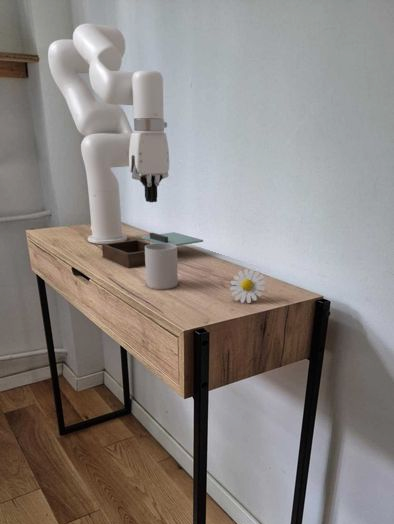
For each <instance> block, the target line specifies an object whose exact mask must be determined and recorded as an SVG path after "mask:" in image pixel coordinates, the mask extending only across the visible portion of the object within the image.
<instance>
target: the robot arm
mask: <svg viewBox="0 0 394 524" xmlns="http://www.w3.org/2000/svg"><path fill="white" fill-rule="evenodd" d="M125 53H126V40H125V37H124V34H123V33H122V32H121V30H120V29H118V28H117V27H115V26H111V25H104V24H97V23H89V22H88V23H87V22H86V23H82V24H79V25H78V26H77V27H76V28H75V29H74V31H73V33H72V39H70V38H67V39H66V38H63V39H57V40H54V41H53V42H51V44H50V45H49V47H48V52H47V60H48V61H47V62H48V66H49V70H50V73H51V76H52V78H53V79H52V80H53V81H54V82H55V85H56V86H57V88H58V90H59V91H60V92H61V94H62V96H63V97H64V99H65V101H66V104H67V107H68V109H69V112H70V114H71V117H72V119H73V122H74V125H75V127H76V129H77V130H78V132H79V133H80V134H81V135H83V136H84V137H83V139H82V140H81V144H80V151H81V152H80V153H81V157H82V160H83V164H84V169H85V174H86V183H87V193H88V202H89V203H88V204H89V215H90V228H89V229H90V231H91V235H89V236H87V242H89V243H91V244H97V245H102V244H109V243H116V242H123V241H128V236H127V235H126V234H125V233H124V234H123V229H122V228H123V227H122V214H121V213H122V211H121V197H120V196H121V195H120V184H119V180H118V178H117V176H116V175H115V173H114V172H113V170H112V169H111V168H126V167H129V172H130V173H131V178H132V179H133V180H136V181H139V182H140V183H141V185H142V186H143V187H144V199H145V202H147V203H157V202H158V187H159V186H160V183H161V182H162V180H164V179H167V178H169V170H170V152H169V151H170V150H169V143H168V137H167V133H166V132H165V129H166V128H167V127H168V123H167V122H166V121H165V119H164V78H163V75H162V73H160V71H157V70H137V71H135V72H134V71H133V72H132V71H121V70H120V69H121V67H122V62H123V61H122V59H123V58H124V56H125ZM79 74H88V76H89V83H90V84H91V87H90V85H89V84H88V83H87V82H86V81H85V80H84V79H83V78H82V77H81V76H80V75H79ZM94 92H95V94H96V95H97V96H98V97H99V98H100V100H102V101H103V102H100V101H98V100H97V99H96V97H95V95H94ZM121 106H132V107H133V129H132V126H131V123H130V121H129V119H128V116H127V114H126V112H125V110H124V108H122V107H121ZM133 130H134V132H133Z"/></svg>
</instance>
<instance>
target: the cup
mask: <svg viewBox="0 0 394 524" xmlns="http://www.w3.org/2000/svg"><path fill="white" fill-rule="evenodd" d="M145 264H146V265H145V281H146V285H147V288H150V289H153V290H169V289H170V290H171V289H173V288H176V287H177V285H178V279H179V278H178V277H179V276H178V274H179V273H178V246H176V245H174V244H169V243H155V242H154V243H150V244H149V245H146V246H145Z"/></svg>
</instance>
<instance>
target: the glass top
mask: <svg viewBox="0 0 394 524" xmlns="http://www.w3.org/2000/svg"><path fill="white" fill-rule="evenodd" d="M141 239H142V240H144V241H149V242H152V243H154V244H155V243H169V244H174V245H176V246H177V247H179V246H186V245H191V244H197V243H198V244H199V243H202V242H203V243H204V239H201V238H197V237H193V236H190V235H187V234H182V233H179V232H175V231H173V232H165V233H155V232H149V235H143V236H141Z"/></svg>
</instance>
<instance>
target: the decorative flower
mask: <svg viewBox="0 0 394 524" xmlns="http://www.w3.org/2000/svg"><path fill="white" fill-rule="evenodd" d="M243 271H244V272H243ZM243 271H241V270H239V271H238V272H237V273H238V275H239V276H238V275H234V276H233V280H230V285H232V286H231V287H229V290H230V291H232V292H231V295H230V296H232V297H235V301H236V302H237V301H240V304H243V303H245V301H246V302H247V304H250V303H251V302H252V300H253V301H257V300H258V297H262V296H263V293H262V292H261V291H265V290H266V287H265V286H264V285H266V283H267V281H266V280H263V279H264V278H265V276H264V274H260V273H261V272H260V271H259V270H256V271H255V268H250V270H249V269H248V268H244V270H243ZM257 296H258V297H257Z"/></svg>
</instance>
